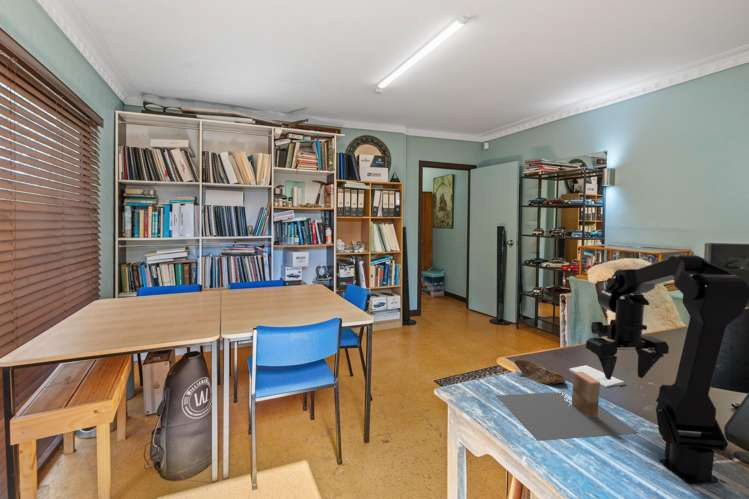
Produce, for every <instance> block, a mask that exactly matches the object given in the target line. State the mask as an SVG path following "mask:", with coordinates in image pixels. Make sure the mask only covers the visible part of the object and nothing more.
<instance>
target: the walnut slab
mask: <svg viewBox="0 0 749 499" xmlns="http://www.w3.org/2000/svg"><path fill="white" fill-rule="evenodd" d="M572 378H573V379H572V380H573V381H572V391H573V393H572V406H574V407H575V408H576V409H577V410H579V411H580V412H581V413H583V414H584V415H585V416H586V417H588V418H594V417H597V416H598V405H599V402H600V401H599V399H600V386H601V385H600V382H599V381H597V380H595V379H594V378H592V377H591V376H589V375H587V374H586V373H584V372H574V374H573V377H572Z"/></svg>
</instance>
